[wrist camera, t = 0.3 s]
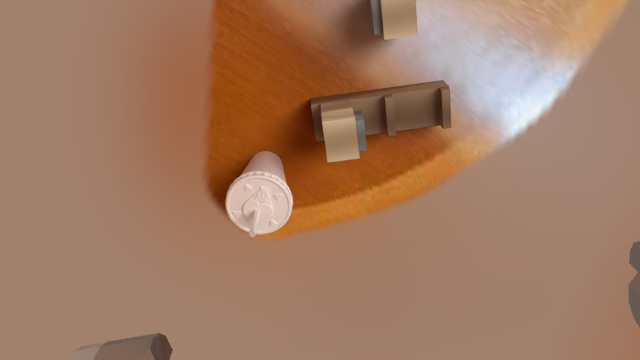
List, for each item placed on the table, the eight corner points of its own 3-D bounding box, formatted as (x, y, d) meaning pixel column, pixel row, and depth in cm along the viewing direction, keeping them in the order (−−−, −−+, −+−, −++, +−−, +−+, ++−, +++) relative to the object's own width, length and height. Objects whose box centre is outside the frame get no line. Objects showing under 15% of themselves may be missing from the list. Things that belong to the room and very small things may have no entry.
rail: (310, 98, 54) (311, 123, 46) (442, 80, 54) (465, 102, 46) (315, 134, 56) (317, 163, 48) (444, 116, 55) (466, 143, 47)
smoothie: (231, 183, 58) (209, 249, 45) (245, 132, 55) (226, 186, 43) (285, 198, 59) (279, 267, 46) (302, 148, 56) (300, 206, 44)
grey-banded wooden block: (364, -11, 50) (371, -6, 44) (403, -17, 50) (414, -12, 44) (368, 31, 51) (375, 41, 46) (405, 26, 51) (417, 35, 46)
